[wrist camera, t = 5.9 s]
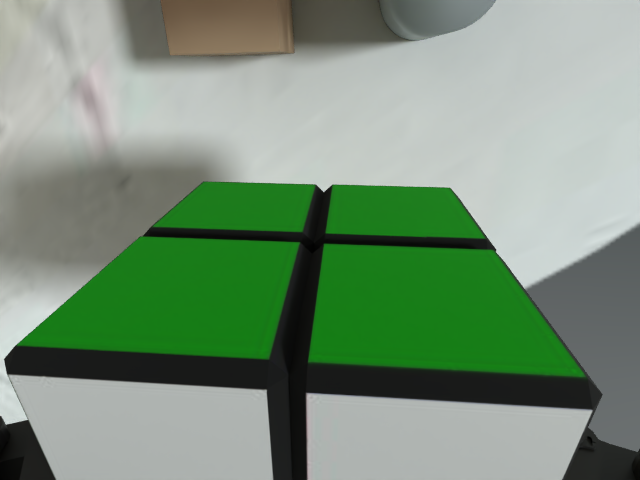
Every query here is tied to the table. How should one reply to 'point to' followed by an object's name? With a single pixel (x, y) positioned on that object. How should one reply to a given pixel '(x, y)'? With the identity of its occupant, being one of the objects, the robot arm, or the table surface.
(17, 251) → the table surface
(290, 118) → the table surface
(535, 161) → the table surface
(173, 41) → the tan stepped block
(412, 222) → the puzzle cube
